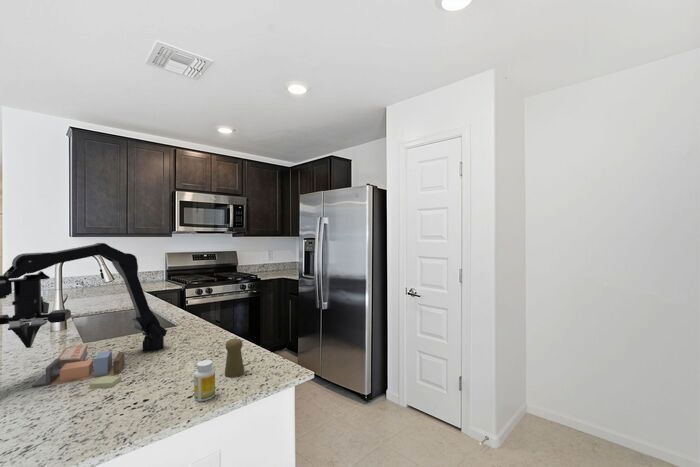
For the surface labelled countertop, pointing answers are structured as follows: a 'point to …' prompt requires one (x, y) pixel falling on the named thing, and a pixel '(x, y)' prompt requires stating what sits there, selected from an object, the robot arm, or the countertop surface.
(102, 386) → the olive book
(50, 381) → the bookend
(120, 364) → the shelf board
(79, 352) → the packaged product
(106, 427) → the countertop surface
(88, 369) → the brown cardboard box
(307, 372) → the countertop surface
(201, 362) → the supplement bottle
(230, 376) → the cork
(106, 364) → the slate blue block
